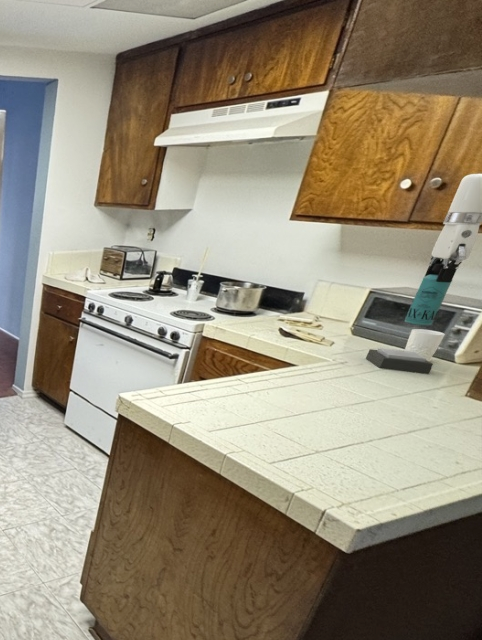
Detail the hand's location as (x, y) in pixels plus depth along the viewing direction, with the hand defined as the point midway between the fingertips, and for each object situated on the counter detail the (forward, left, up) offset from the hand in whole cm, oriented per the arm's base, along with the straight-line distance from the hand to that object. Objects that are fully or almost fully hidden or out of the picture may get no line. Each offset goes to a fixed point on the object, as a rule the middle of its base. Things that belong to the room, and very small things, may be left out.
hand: (436, 280), depth 145 cm
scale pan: (0, -1, -26) cm, 26 cm away
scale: (0, -1, -29) cm, 29 cm away
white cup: (-10, -15, -29) cm, 34 cm away
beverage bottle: (0, 0, -15) cm, 15 cm away
